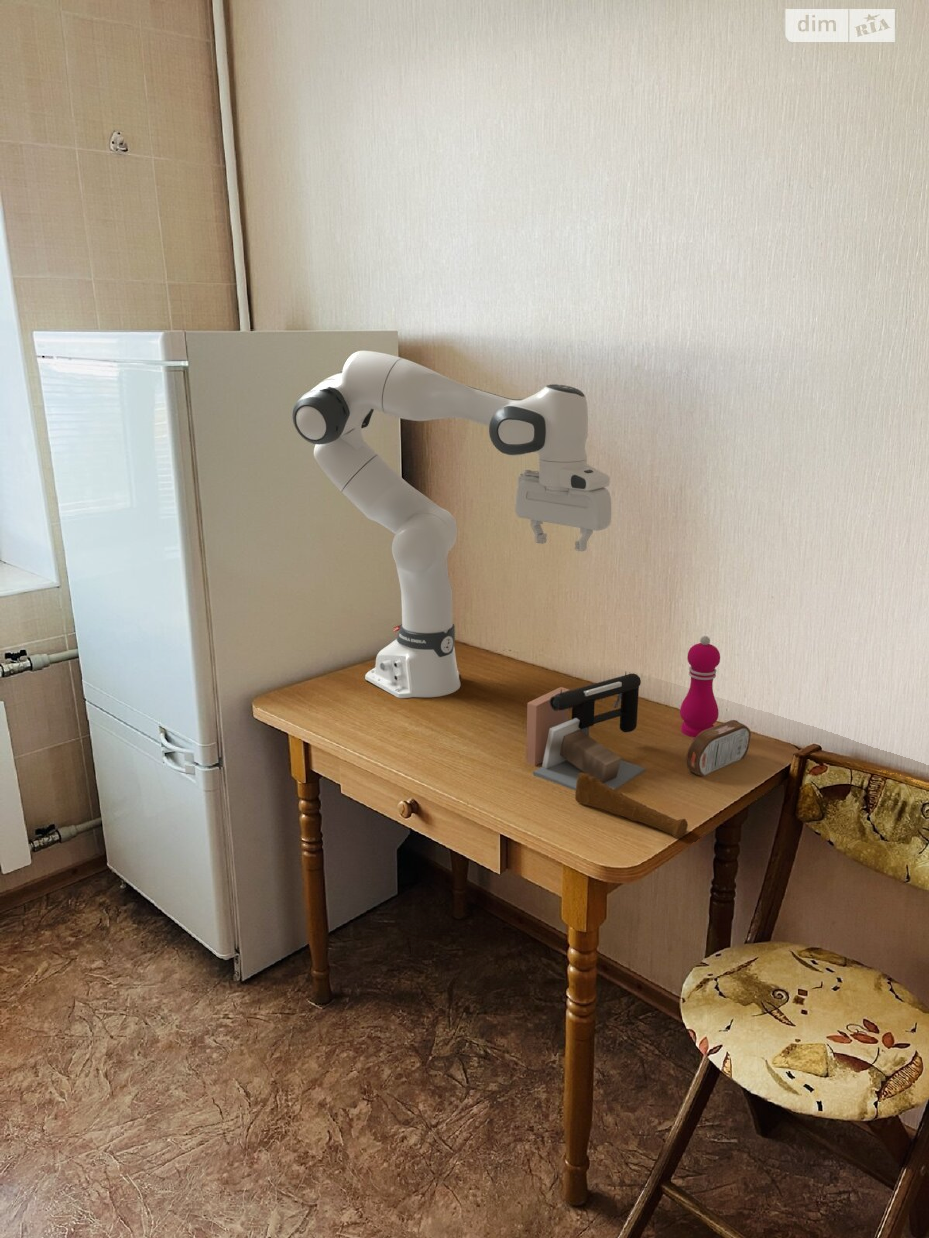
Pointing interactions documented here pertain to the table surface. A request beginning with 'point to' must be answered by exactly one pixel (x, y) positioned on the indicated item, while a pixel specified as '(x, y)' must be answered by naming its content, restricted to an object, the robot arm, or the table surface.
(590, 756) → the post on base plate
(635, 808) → the primitive tool
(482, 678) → the table surface
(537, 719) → the tile
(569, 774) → the mat
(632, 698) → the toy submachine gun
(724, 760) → the tin
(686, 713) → the pepper mill
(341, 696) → the table surface
